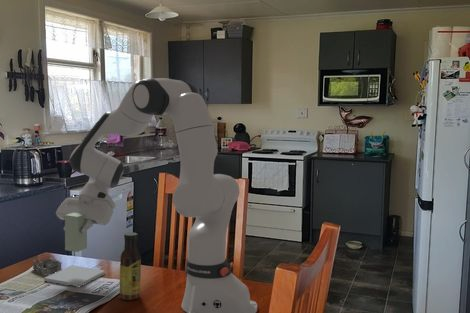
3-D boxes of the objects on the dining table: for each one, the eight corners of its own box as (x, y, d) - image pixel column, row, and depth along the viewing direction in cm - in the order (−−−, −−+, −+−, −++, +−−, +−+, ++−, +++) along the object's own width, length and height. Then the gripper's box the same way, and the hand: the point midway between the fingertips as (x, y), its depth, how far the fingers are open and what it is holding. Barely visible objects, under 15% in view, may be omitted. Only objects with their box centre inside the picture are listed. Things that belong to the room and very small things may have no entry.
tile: (105, 273, 162) (105, 270, 162) (79, 287, 148) (79, 284, 148) (72, 268, 166) (72, 265, 166) (44, 281, 153) (44, 277, 153)
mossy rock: (30, 269, 165) (30, 258, 165) (51, 265, 170) (51, 254, 170) (42, 277, 157) (42, 265, 157) (64, 272, 163) (63, 261, 162)
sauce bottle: (135, 302, 138) (135, 237, 137) (115, 300, 140) (116, 236, 138) (143, 294, 145) (144, 232, 143) (125, 292, 146) (125, 230, 144)
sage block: (86, 248, 159) (86, 213, 157) (77, 252, 154) (77, 216, 153) (74, 246, 160) (74, 212, 159) (65, 250, 155) (65, 215, 154)
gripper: (63, 190, 165) (44, 223, 156) (112, 195, 158) (94, 229, 150) (72, 200, 169) (53, 232, 161) (119, 205, 163) (103, 239, 154)
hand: (73, 231), depth 155 cm, fingers closed on sage block, 5 cm apart
